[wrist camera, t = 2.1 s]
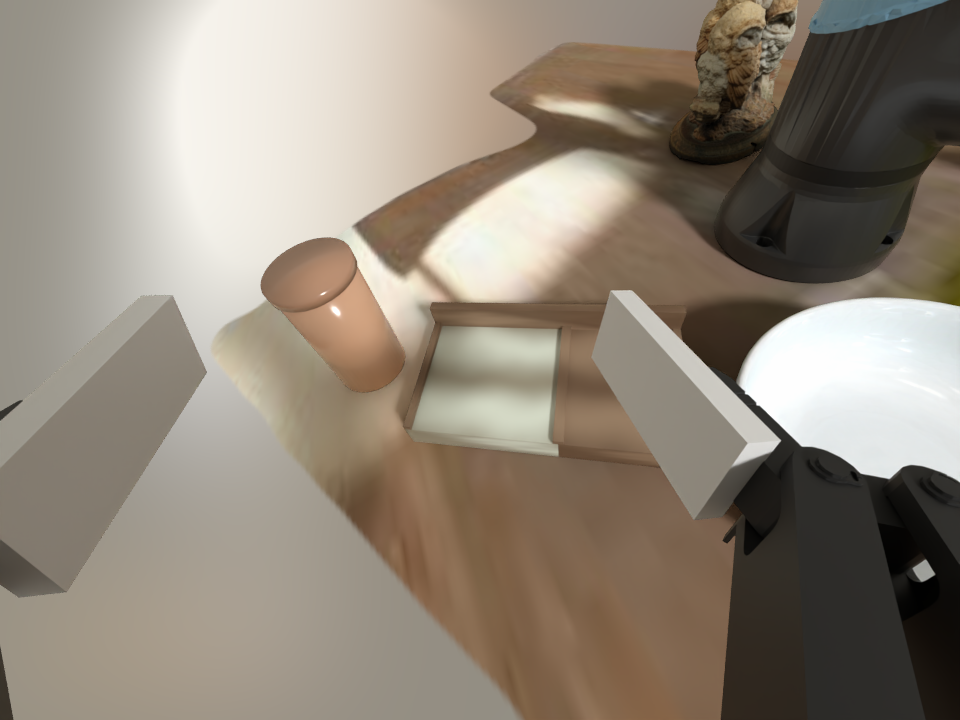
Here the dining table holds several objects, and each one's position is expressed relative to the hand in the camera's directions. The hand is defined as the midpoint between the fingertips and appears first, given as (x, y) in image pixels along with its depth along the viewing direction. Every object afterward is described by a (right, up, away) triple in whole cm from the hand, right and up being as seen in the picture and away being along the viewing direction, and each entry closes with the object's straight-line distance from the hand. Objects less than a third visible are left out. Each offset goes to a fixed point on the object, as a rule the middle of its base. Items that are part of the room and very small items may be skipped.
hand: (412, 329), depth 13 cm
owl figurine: (+35, +30, +41) cm, 61 cm away
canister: (-9, -1, +28) cm, 30 cm away
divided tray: (+8, -4, +23) cm, 24 cm away
